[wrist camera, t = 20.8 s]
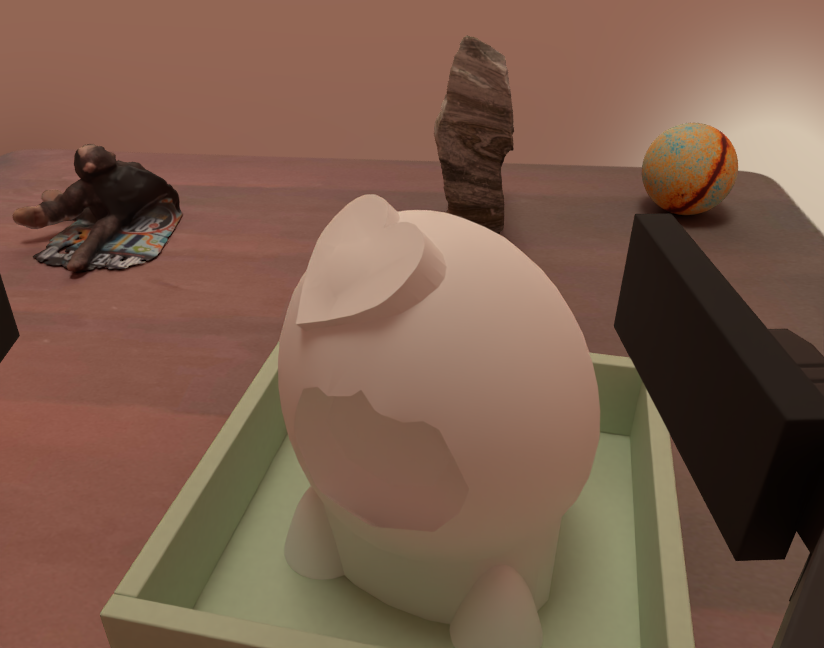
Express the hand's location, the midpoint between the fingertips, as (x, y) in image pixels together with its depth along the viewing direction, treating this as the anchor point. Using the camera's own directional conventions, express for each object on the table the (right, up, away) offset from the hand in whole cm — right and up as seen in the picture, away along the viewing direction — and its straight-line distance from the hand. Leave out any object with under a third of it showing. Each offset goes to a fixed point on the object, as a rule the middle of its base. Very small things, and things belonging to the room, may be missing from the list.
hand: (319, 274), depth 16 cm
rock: (+7, +6, +41) cm, 43 cm away
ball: (+23, +8, +45) cm, 51 cm away
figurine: (+3, -10, +15) cm, 18 cm away
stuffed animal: (-21, +6, +41) cm, 47 cm away
